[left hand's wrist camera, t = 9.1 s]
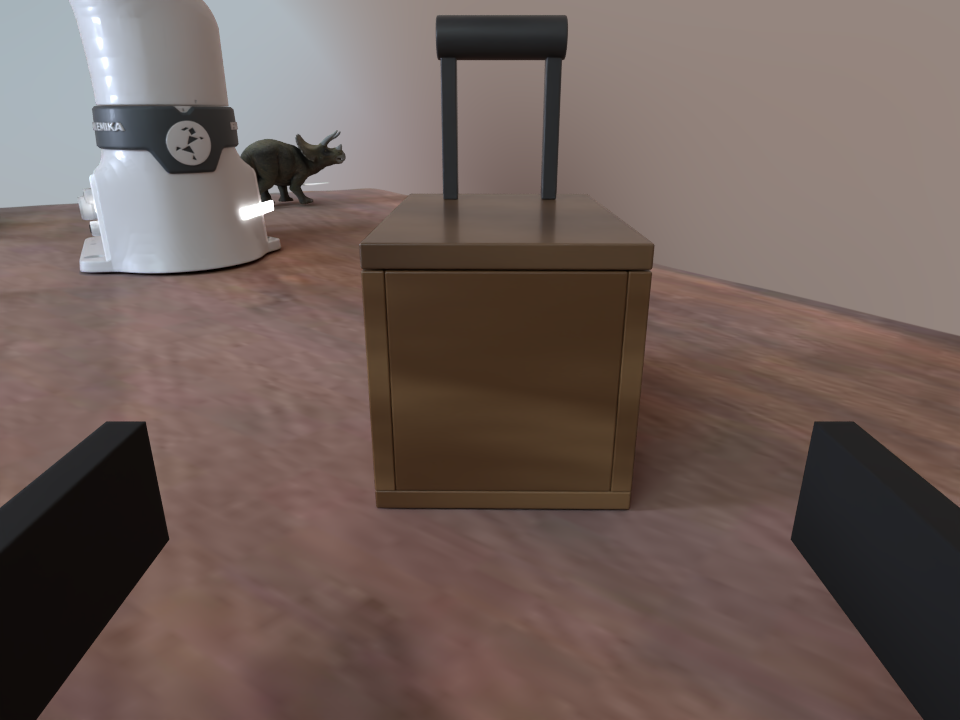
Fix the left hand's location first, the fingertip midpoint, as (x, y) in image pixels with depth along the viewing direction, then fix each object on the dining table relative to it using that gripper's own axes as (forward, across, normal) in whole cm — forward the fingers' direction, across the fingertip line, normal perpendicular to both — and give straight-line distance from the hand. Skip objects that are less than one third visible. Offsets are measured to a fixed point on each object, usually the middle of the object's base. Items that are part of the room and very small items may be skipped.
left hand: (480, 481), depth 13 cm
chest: (+16, +1, -6) cm, 17 cm away
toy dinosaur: (+94, -32, -6) cm, 100 cm away
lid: (+16, +1, +2) cm, 16 cm away
